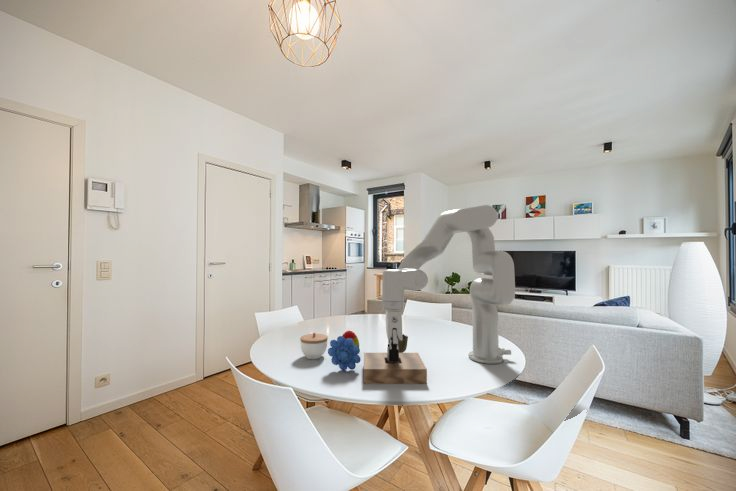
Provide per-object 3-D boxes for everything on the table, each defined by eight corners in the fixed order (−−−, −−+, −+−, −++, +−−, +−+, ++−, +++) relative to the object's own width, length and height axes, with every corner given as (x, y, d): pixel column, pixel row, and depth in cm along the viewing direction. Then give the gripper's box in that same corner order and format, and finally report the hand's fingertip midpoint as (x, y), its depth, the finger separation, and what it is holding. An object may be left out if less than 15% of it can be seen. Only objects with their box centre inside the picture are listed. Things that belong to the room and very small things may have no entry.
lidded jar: (327, 351, 126) (327, 329, 126) (327, 360, 115) (328, 336, 116) (300, 353, 124) (301, 330, 124) (299, 362, 114) (299, 337, 114)
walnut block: (417, 365, 111) (417, 352, 111) (426, 383, 95) (426, 369, 95) (363, 364, 111) (363, 352, 111) (363, 383, 95) (363, 369, 95)
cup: (407, 353, 124) (407, 333, 125) (408, 359, 117) (408, 338, 117) (389, 352, 125) (389, 333, 125) (389, 358, 118) (389, 338, 118)
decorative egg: (355, 351, 126) (356, 327, 126) (361, 358, 118) (361, 332, 119) (336, 353, 123) (337, 329, 124) (341, 360, 116) (341, 334, 116)
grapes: (325, 375, 102) (326, 339, 102) (328, 367, 108) (328, 334, 109) (360, 375, 101) (360, 339, 102) (360, 367, 108) (360, 334, 109)
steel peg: (398, 369, 105) (398, 346, 105) (399, 374, 101) (399, 349, 101) (386, 369, 105) (386, 346, 105) (387, 373, 101) (387, 349, 101)
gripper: (407, 309, 95) (407, 367, 95) (401, 301, 112) (401, 350, 112) (383, 309, 95) (383, 367, 95) (381, 301, 112) (380, 350, 112)
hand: (393, 357), depth 103 cm, fingers open, 4 cm apart
